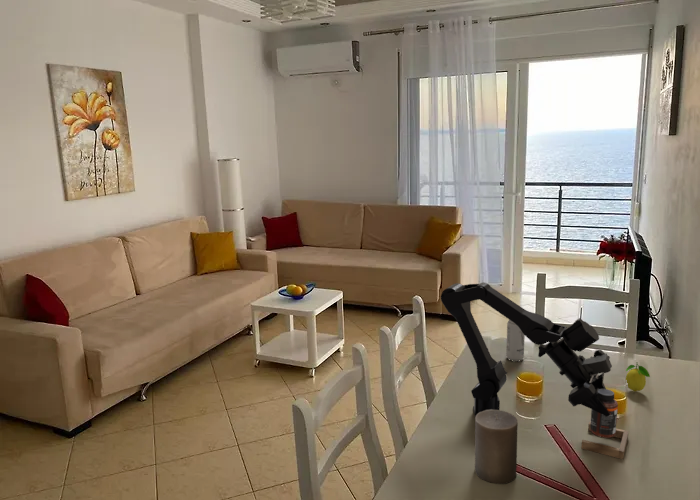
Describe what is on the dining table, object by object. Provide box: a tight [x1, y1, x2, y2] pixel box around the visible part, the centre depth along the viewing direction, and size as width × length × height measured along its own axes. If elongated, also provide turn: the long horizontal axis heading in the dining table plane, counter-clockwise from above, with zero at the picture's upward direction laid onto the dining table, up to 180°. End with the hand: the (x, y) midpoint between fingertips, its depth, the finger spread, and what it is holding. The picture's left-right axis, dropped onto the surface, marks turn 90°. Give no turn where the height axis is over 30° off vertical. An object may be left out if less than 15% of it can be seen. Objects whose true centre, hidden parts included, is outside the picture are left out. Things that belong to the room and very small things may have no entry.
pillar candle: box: [474, 409, 518, 485], centre depth 127 cm, size 10×10×15 cm
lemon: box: [625, 363, 651, 393], centre depth 165 cm, size 7×6×10 cm
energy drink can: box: [505, 319, 526, 362], centre depth 192 cm, size 6×6×15 cm
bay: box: [581, 421, 629, 460], centre depth 139 cm, size 10×11×2 cm
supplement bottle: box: [590, 388, 619, 439], centre depth 137 cm, size 6×6×11 cm
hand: (610, 410), depth 137 cm, fingers closed on supplement bottle, 6 cm apart
